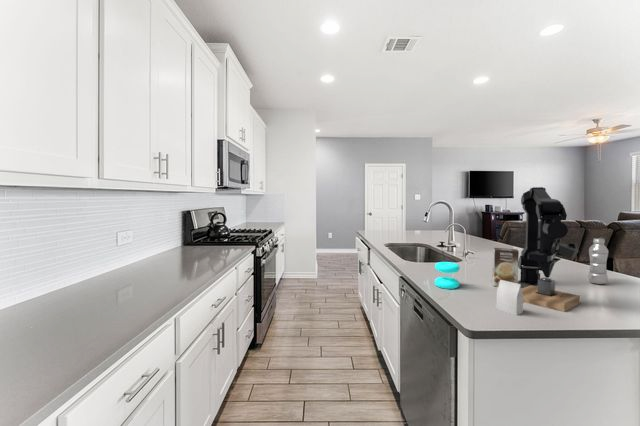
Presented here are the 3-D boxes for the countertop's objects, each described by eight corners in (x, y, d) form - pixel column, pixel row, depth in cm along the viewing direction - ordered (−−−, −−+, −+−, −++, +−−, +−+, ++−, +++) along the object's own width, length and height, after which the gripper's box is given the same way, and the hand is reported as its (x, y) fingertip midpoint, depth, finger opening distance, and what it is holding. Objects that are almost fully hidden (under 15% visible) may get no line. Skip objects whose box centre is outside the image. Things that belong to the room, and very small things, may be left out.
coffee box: (493, 286, 137) (493, 249, 136) (492, 282, 143) (492, 247, 142) (517, 289, 133) (518, 251, 132) (515, 285, 139) (516, 248, 138)
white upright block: (516, 315, 104) (517, 285, 103) (496, 309, 110) (496, 280, 109) (522, 313, 106) (523, 283, 105) (502, 307, 112) (503, 279, 111)
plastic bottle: (611, 286, 136) (613, 239, 135) (593, 285, 137) (595, 239, 136) (601, 282, 142) (603, 237, 141) (584, 281, 143) (585, 237, 142)
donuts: (441, 260, 144) (463, 263, 137) (441, 282, 145) (463, 286, 137) (430, 263, 138) (452, 267, 130) (430, 286, 138) (452, 291, 131)
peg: (549, 304, 114) (550, 280, 114) (537, 301, 117) (537, 278, 117) (554, 301, 117) (555, 278, 116) (542, 298, 120) (542, 276, 119)
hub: (513, 299, 120) (513, 290, 120) (530, 292, 127) (530, 284, 127) (564, 311, 106) (564, 302, 106) (579, 303, 114) (579, 294, 114)
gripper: (564, 239, 104) (563, 286, 105) (585, 235, 114) (583, 278, 115) (527, 236, 113) (526, 279, 114) (549, 232, 123) (548, 272, 124)
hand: (547, 277), depth 117 cm, fingers closed
